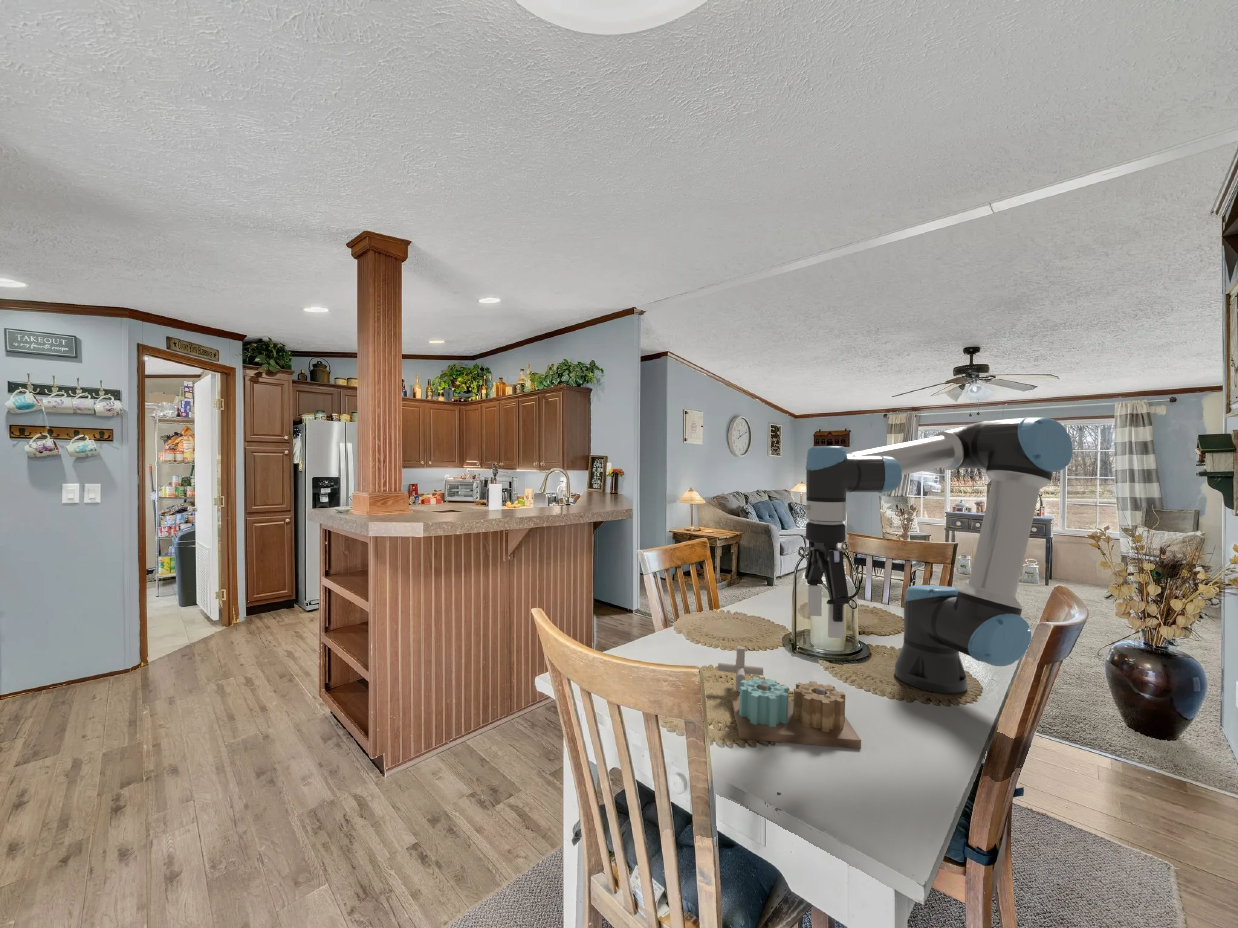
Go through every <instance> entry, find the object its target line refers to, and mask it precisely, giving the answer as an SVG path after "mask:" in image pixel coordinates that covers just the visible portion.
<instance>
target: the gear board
mask: <svg viewBox="0 0 1238 928" xmlns="http://www.w3.org/2000/svg"><path fill="white" fill-rule="evenodd" d="M760 690H762V691H768V685H767V684H760ZM816 694H817V695H825V689H824V688H821V687H817V688H816ZM739 699H740V697H734V696H732V697H731V699H730V700H731V704H732V705H731V707H732V708H733V709H732V712H733V711H734V713H733V716H735V717H734V720H736V721H735V724H737V725H736V728H738V729H737V733H738V736H739V740H752V741H763V742H776V743H777V742H778V743H788V744H789V743H790V744H802V745H803V744H804V745H817V746H829V747H841V748H842V747H843V748H855V749H861V748H862V739H861V738H860V736H859V735H858V734H857V731H856V730H855V729H854V727H853V726H852V725H851V723H850V722H849V720H848V718H847V717H846V716H845V723H844V728H843V729H841V730H838V729H836V728H834V729H829V732H824V731H822V730H821V728H815V727H812V726H811V727H809V728H808V727H805V726H803V725H802V722H801V720H800V719H794V717H793V701H792V700H791V701H789V700H788V722H787V723H786V724H784V723H781V722H780V723H779V724H776V727H769V726H768V724H761V723H758V724H757V725H755V724H752V723H750V720H749V719H748V718H747V717H741V716H740V714H739Z"/></svg>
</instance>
